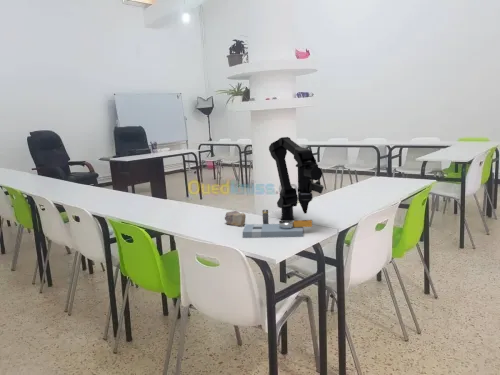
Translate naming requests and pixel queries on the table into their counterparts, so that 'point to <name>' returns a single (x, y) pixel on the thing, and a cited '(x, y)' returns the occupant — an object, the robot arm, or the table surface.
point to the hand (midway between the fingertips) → (305, 210)
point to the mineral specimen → (235, 218)
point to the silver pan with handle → (295, 224)
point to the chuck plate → (270, 231)
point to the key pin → (265, 216)
